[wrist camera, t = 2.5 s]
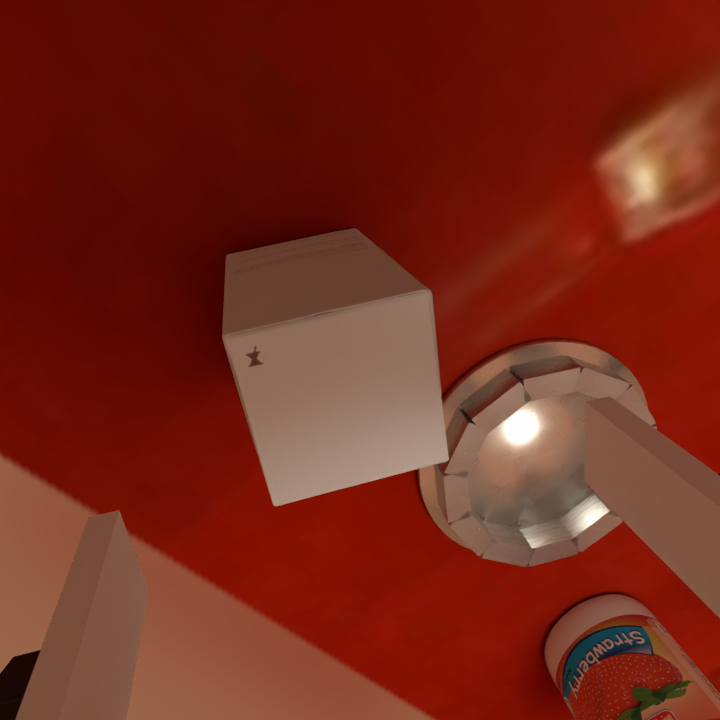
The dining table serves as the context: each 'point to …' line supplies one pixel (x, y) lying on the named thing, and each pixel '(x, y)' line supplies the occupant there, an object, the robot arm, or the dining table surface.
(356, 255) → the supplement box
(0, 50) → the dining table surface
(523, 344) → the silver round shallow dish
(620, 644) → the fruit juice
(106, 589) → the robot arm
